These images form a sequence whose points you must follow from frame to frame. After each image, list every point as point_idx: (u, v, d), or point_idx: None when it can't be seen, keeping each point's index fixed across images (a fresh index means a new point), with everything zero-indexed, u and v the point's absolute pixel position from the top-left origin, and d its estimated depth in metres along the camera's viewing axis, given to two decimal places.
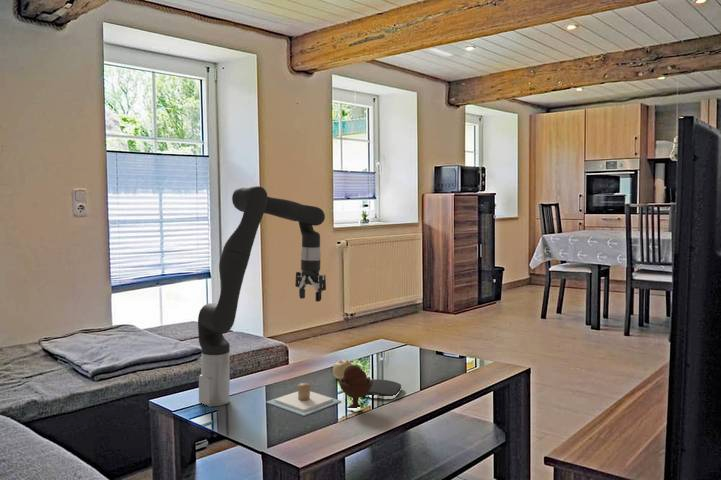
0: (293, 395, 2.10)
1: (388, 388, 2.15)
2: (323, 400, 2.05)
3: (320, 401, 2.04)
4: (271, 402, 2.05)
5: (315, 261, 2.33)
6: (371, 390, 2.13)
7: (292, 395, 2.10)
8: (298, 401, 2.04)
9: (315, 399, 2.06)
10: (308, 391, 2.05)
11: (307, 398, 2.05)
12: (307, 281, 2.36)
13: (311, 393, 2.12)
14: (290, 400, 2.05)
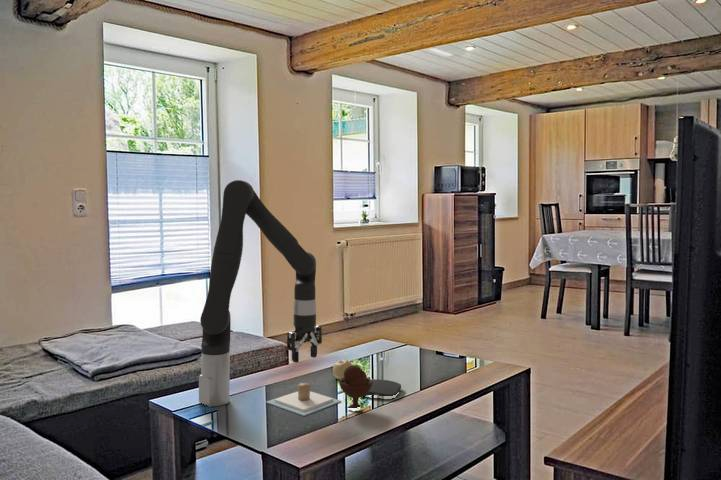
0: (293, 395, 2.10)
1: (388, 388, 2.15)
2: (323, 400, 2.05)
3: (320, 401, 2.04)
4: (271, 402, 2.05)
5: None
6: (371, 390, 2.13)
7: (292, 395, 2.10)
8: (298, 401, 2.04)
9: (315, 399, 2.06)
10: (308, 391, 2.05)
11: (307, 398, 2.05)
12: (306, 339, 2.04)
13: (311, 393, 2.12)
14: (290, 400, 2.05)
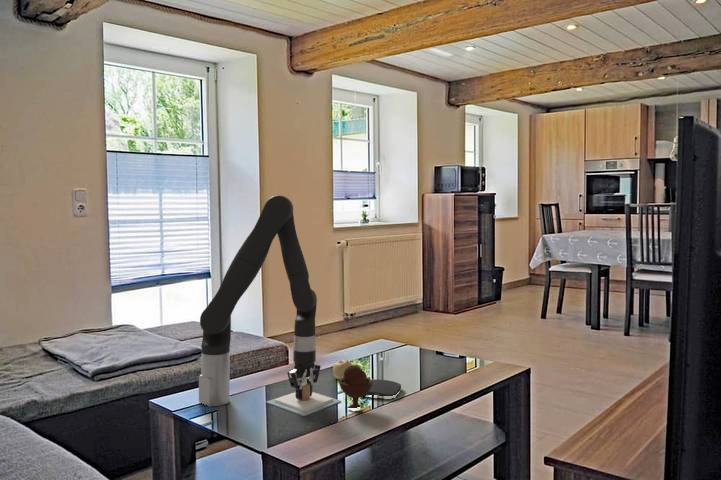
0: (293, 395, 2.10)
1: (388, 388, 2.15)
2: (323, 400, 2.05)
3: (320, 401, 2.04)
4: (271, 402, 2.05)
5: None
6: (371, 390, 2.13)
7: (292, 395, 2.10)
8: (298, 401, 2.04)
9: (315, 399, 2.06)
10: (308, 391, 2.05)
11: (307, 398, 2.05)
12: None
13: None
14: (290, 400, 2.05)
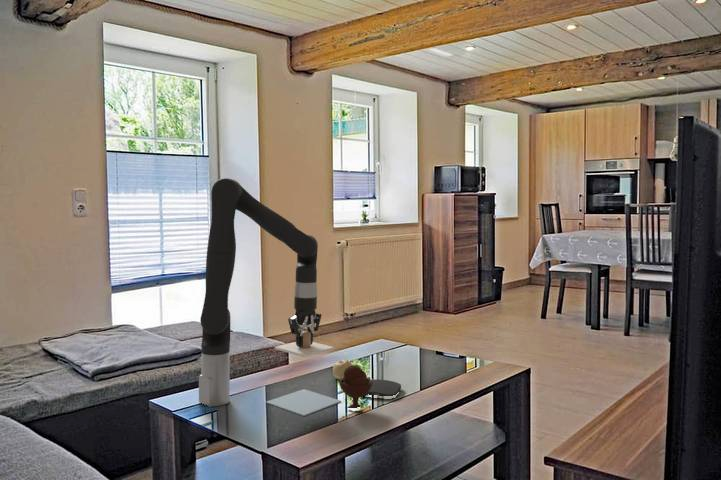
0: (293, 344, 2.08)
1: (388, 388, 2.15)
2: (324, 348, 2.04)
3: (321, 349, 2.02)
4: (271, 402, 2.05)
5: None
6: (371, 390, 2.13)
7: (292, 344, 2.08)
8: (299, 348, 2.03)
9: (316, 347, 2.05)
10: (309, 339, 2.03)
11: (308, 346, 2.03)
12: (306, 322, 2.03)
13: None
14: (290, 347, 2.03)
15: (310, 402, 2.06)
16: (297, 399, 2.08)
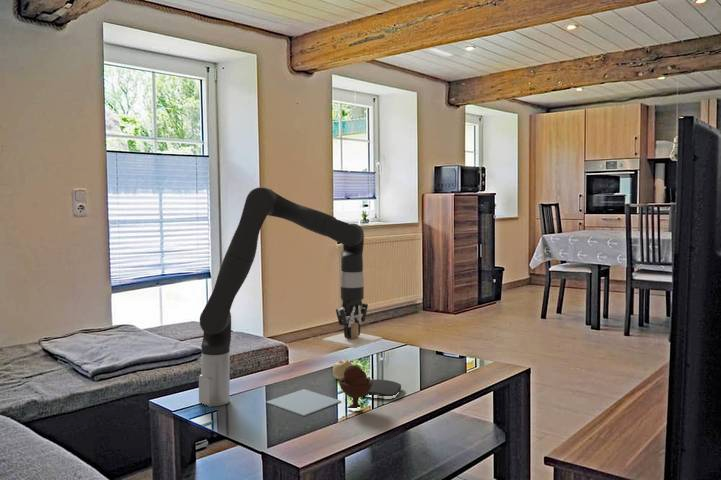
0: (340, 335, 2.03)
1: (389, 388, 2.15)
2: (372, 338, 1.99)
3: (369, 339, 1.97)
4: (271, 402, 2.05)
5: None
6: (371, 390, 2.13)
7: (339, 335, 2.03)
8: (347, 339, 1.98)
9: (364, 338, 2.00)
10: (357, 329, 1.99)
11: (356, 337, 1.98)
12: (353, 312, 1.98)
13: None
14: (338, 339, 1.98)
15: (310, 402, 2.06)
16: (297, 399, 2.08)
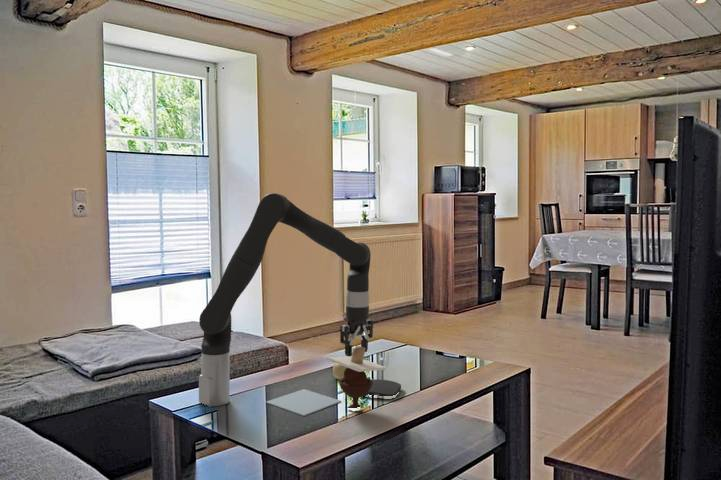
0: (345, 358, 2.03)
1: (388, 388, 2.15)
2: (376, 366, 1.99)
3: (374, 367, 1.97)
4: (271, 402, 2.05)
5: None
6: (371, 390, 2.13)
7: (344, 357, 2.03)
8: (352, 362, 1.97)
9: (368, 364, 1.99)
10: (363, 354, 1.99)
11: (360, 361, 1.98)
12: (358, 332, 1.98)
13: (362, 359, 2.05)
14: (343, 360, 1.98)
15: (310, 402, 2.06)
16: (297, 399, 2.08)
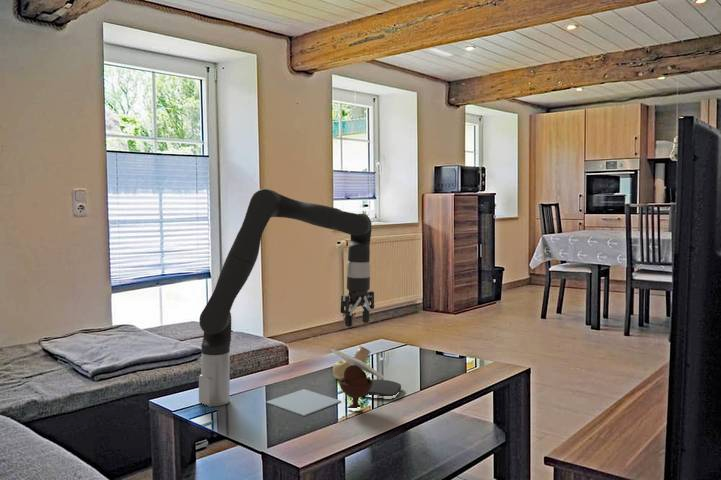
0: None
1: (389, 388, 2.15)
2: None
3: None
4: (271, 402, 2.05)
5: None
6: (371, 390, 2.13)
7: None
8: None
9: None
10: (366, 356, 2.00)
11: (362, 362, 1.99)
12: (359, 303, 1.97)
13: None
14: None
15: (310, 402, 2.06)
16: (297, 399, 2.08)
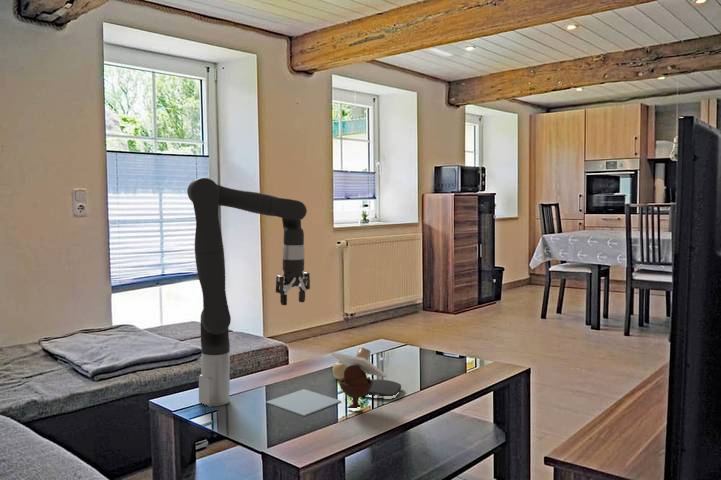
0: None
1: (389, 388, 2.15)
2: None
3: None
4: (271, 402, 2.05)
5: None
6: (371, 390, 2.13)
7: None
8: None
9: None
10: (367, 356, 2.01)
11: None
12: (294, 283, 2.12)
13: None
14: None
15: (310, 402, 2.06)
16: (297, 399, 2.08)
